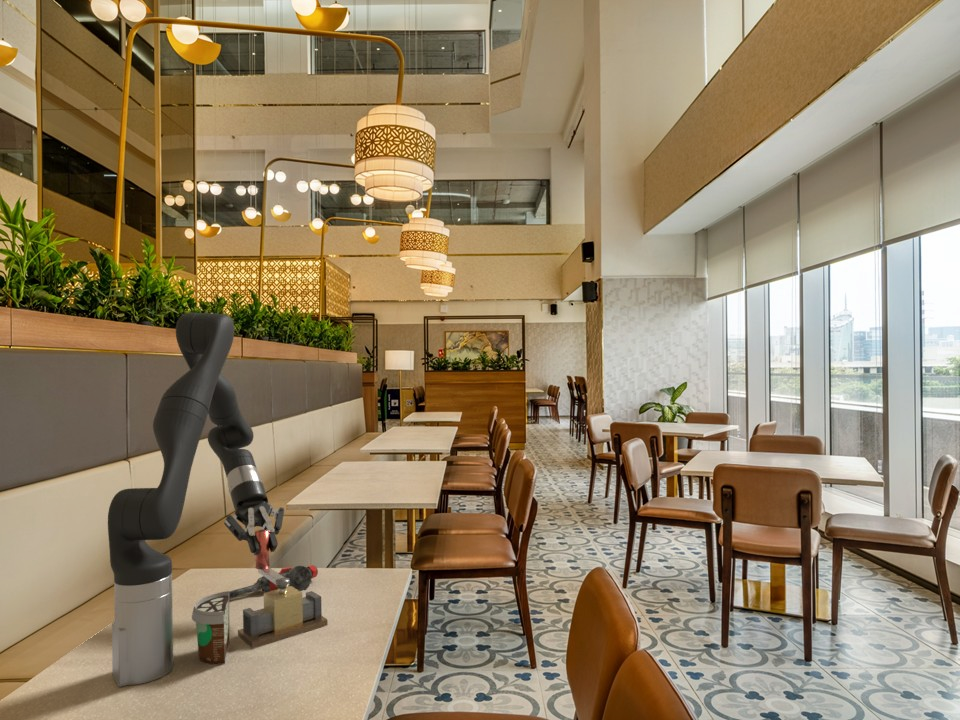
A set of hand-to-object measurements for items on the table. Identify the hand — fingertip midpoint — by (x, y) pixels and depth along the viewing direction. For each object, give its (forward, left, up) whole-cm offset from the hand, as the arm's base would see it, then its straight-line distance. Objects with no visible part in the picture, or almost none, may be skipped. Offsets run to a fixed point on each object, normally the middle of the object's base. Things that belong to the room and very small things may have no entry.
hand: (265, 551), depth 135 cm
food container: (-15, -11, -15) cm, 24 cm away
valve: (+6, +18, -15) cm, 24 cm away
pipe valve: (0, -10, -14) cm, 17 cm away
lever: (0, -4, -5) cm, 6 cm away
